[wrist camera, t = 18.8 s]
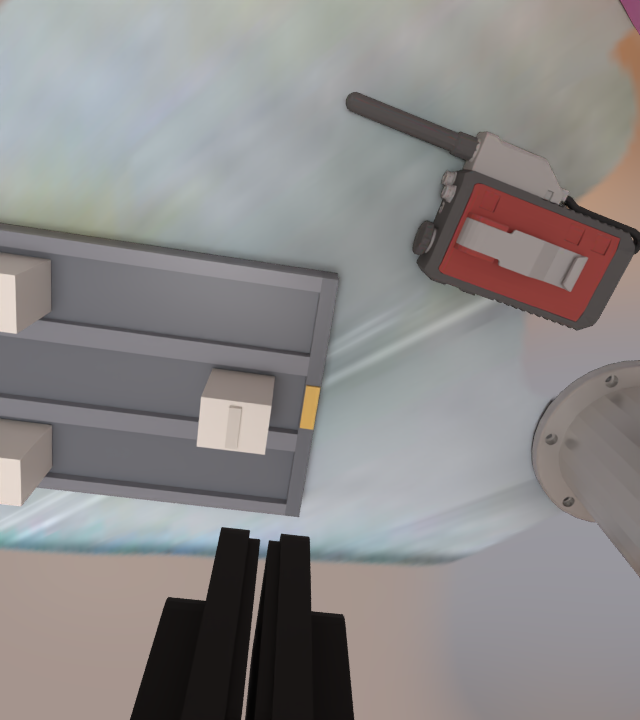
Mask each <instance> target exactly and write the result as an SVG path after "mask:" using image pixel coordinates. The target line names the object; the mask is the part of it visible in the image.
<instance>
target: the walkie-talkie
mask: <svg viewBox="0 0 640 720" xmlns="http://www.w3.org/2000/svg"><path fill="white" fill-rule="evenodd" d="M346 106H347V108H348V109H349V110H350V111H351V112H354V113H356V114H359V115H361V116H364V117H366V118H369V119H371V120H374V121H376V122H379V123H381V124H384V125H386V126H389V127H391V128H394V129H396V130H399V131H401V132H404V133H406V134H409V135H411V136H414V137H416V138H419V139H421V140H424V141H426V142H429V143H431V144H433V145H436V146H438V147H441V148H443V149H446V150H448V151H450V154H452V155H454V156H457V157H459V158H462V159H465V160H466V162H465V165H464V167H463V169H462V170H459V171H456V172H454V171H453V172H450V171H446V173H445V174H444V176H443V178H442V184H444V185H445V187H444V188H443V191H442V193H441V198H443V201H442V203H441V206H440V208H439V210H438V213H437V215H436V217H435V220H434V222H433V223H432V222H429V221H425V222H424V223H423V224H422V225H421V227H420V228H419V230H418V232H417V234H416V237H415V240H414V244H413V252H414V254H418V255H419V258H418V260H417V264H418V266H419V267H420V269H421V270H422V271H423V272H424V273H425V274H426V275H427V276H428V277H429V278H430V279H431V280H433V281H436V282H439V283H441V284H450V285H452V286H455V287H458V288H459V289H460V290H461V291H463V292H466V293H469V294H472V295H475V294H477V295H480V296H483V297H485V298H488V299H491V300H494V299H495V300H496V301H498V302H499V303H502V302H503V303H504V304H506V305H508V306H509V305H511V306H512V307H514V308H516V309H517V308H519V309H520V310H522V311H527V312H528V313H530V314H535V315H536V316H538V317H541V316H542V317H543V318H544V319H546V320H548V319H549V320H551V321H553V322H557V323H559V324H560V325H566V326H567V327H568V328H573V329H575V330H580V329H583V328H587V327H590V326H593V325H594V324H595V323H596V322H597V320H598V319H599V317H600V316H601V314H602V312H603V310H604V308H605V306H606V305H607V303H608V301H609V299H610V297H611V295H612V293H613V292H614V290H615V288H616V286H617V284H618V282H619V281H620V279H621V277H622V275H623V273H624V271H625V270H626V268H627V266H628V264H629V262H630V260H631V258H632V256H633V255H634V254H636V253H637V252H638V251H639V250H640V232H638V231H637V230H636V229H634V228H632V227H629V226H627V225H624V224H622V223H619V222H617V221H614V220H612V219H609V218H607V217H604V216H602V215H598V214H597V213H594V212H592V211H589V210H587V209H585V208H583V207H580V206H579V205H577V204H576V202H575V201H574V200H573V198H572V197H570V196H568V194H569V192H570V191H567V190H565V189H562V188H561V187H560V185H559V183H558V181H557V179H556V177H555V175H554V173H553V171H552V169H551V166H550V164H549V162H548V161H547V160H546V159H545V158H543V157H540V156H538V155H535V154H533V153H531V152H528V151H526V150H523V149H521V148H519V147H516V146H514V145H511V144H509V143H507V142H504V141H502V140H500V138H499V136H497V135H495V134H492V133H489V132H479V133H478V134H477V137H473V136H470V135H468V134H465V133H463V132H459V133H456V132H454V131H451V130H449V129H446V128H444V127H441V126H439V125H436V124H434V123H431V122H429V121H427V120H424V119H422V118H419V117H417V116H414V115H412V114H409V113H407V112H404V111H402V110H399V109H397V108H394V107H392V106H390V105H387V104H385V103H382V102H380V101H377V100H375V99H372V98H370V97H367V96H365V95H362V94H360V93H357V92H353V93H351V94H349V95H348V97H347V99H346ZM561 201H562V202H565V204H566V205H567V206H568V208H569V209H567V208H566V207H564V206H560V205H559V204H560V202H561ZM631 237H632V238H633V240H632V238H631Z"/></svg>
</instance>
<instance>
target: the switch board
mask: <svg viewBox="0 0 640 720" xmlns="http://www.w3.org/2000/svg"><path fill="white" fill-rule="evenodd" d="M0 252H2V253H9V254H16V255H23V256H29V257H36V258H43V259H50V260H51V312H50V313H48V314H46V315H45V316H43V317H42V318H40V319H39V320H37V321H36V322H34V323H33V324H31V325H30V326H28V327H26V328H25V329H23V330H22V331H20V332H19V333H17V334H14V333H7V332H0V419H7V420H15V421H23V422H31V423H40V424H48V425H52V468H51V469H50V470H49V472H48V473H47V474H46V476H45V477H44V478H43V479H42V481H41V482H40V483H39V485H38V486H37V488H46V489H55V490H64V491H73V492H82V493H90V494H99V495H108V496H117V497H126V498H135V499H144V500H152V501H161V502H170V503H179V504H188V505H197V506H206V507H214V508H223V509H232V510H241V511H250V512H259V513H268V514H276V515H285V516H294V517H299V513H300V507H301V501H302V495H303V490H304V484H305V478H306V472H307V466H308V460H309V454H310V448H311V443H312V437H313V431H314V425H315V419H316V413H317V407H318V401H319V396H320V390H321V384H322V378H323V372H324V366H325V360H326V354H327V349H328V343H329V337H330V331H331V325H332V319H333V313H334V307H335V302H336V296H337V290H338V284H339V278H338V275H337V273H332V272H325V271H319V270H312V269H305V268H299V267H292V266H285V265H278V264H272V263H265V262H258V261H252V260H245V259H238V258H232V257H225V256H218V255H211V254H205V253H198V252H191V251H185V250H178V249H171V248H165V247H158V246H151V245H144V244H138V243H131V242H124V241H118V240H111V239H104V238H98V237H91V236H84V235H77V234H71V233H64V232H57V231H51V230H44V229H37V228H31V227H24V226H17V225H10V224H4V223H0ZM213 368H216V369H223V370H231V371H238V372H246V373H253V374H261V375H268V376H275V381H274V389H273V398H272V406H271V414H270V421H269V428H268V435H267V442H266V449H265V455H262V454H254V453H246V452H238V451H229V450H221V449H213V448H205V447H197V436H198V425H199V414H200V404H201V396H202V393H203V391H204V388H205V386H206V384H207V381H208V379H209V376H210V374H211V371H212V369H213Z"/></svg>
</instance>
